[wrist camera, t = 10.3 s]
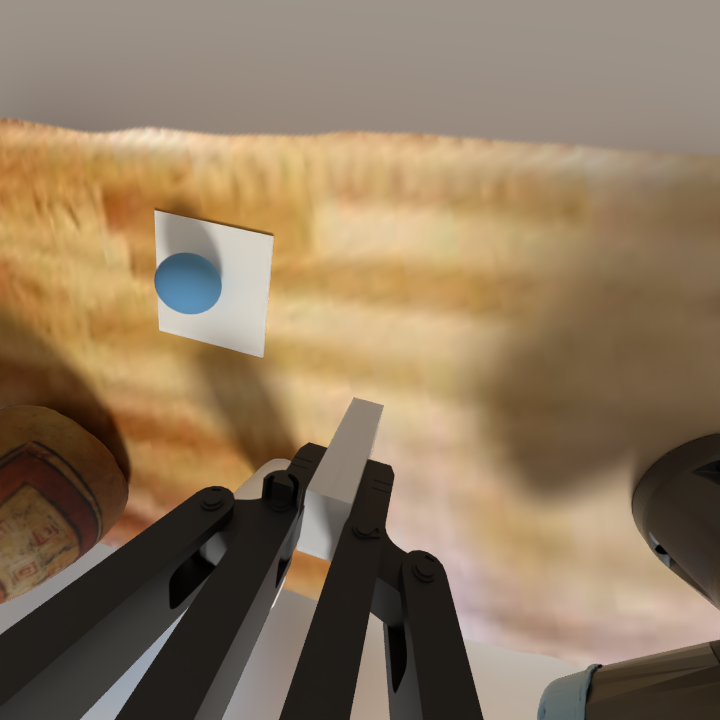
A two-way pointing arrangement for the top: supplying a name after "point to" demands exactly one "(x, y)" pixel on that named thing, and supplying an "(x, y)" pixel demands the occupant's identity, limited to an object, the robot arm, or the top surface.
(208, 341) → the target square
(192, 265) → the ball
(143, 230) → the top surface
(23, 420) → the ceramic pitcher
